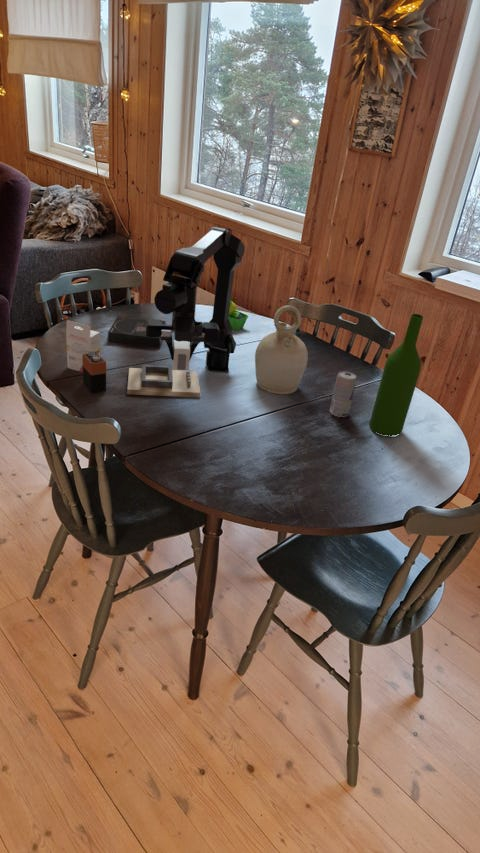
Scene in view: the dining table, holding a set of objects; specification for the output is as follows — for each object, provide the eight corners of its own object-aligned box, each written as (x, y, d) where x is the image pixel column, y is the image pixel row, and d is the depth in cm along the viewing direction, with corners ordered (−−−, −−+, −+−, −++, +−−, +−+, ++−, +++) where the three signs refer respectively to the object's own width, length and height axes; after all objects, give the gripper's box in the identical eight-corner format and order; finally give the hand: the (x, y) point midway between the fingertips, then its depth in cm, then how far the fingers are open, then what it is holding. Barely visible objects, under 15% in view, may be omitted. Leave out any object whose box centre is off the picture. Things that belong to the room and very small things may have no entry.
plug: (187, 360, 153) (188, 340, 150) (188, 371, 148) (190, 350, 145) (172, 360, 153) (173, 339, 150) (173, 371, 147) (174, 349, 144)
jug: (256, 371, 178) (267, 293, 166) (304, 380, 176) (319, 303, 164) (246, 391, 165) (258, 308, 152) (298, 401, 163) (314, 319, 151)
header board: (196, 375, 170) (197, 365, 168) (199, 397, 158) (201, 386, 156) (129, 372, 166) (129, 361, 165) (127, 394, 154) (127, 382, 153)
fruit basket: (248, 328, 210) (251, 299, 205) (231, 333, 204) (235, 303, 199) (226, 319, 217) (229, 290, 211) (209, 323, 211) (212, 293, 205)
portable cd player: (160, 349, 185) (160, 338, 183) (108, 343, 184) (108, 332, 182) (166, 332, 199) (167, 321, 197) (118, 326, 198) (118, 315, 196)
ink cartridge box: (101, 369, 166) (101, 322, 158) (91, 375, 162) (90, 327, 154) (77, 362, 168) (75, 315, 161) (66, 368, 164) (64, 319, 157)
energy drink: (349, 411, 161) (358, 373, 155) (346, 419, 157) (355, 381, 151) (331, 407, 162) (339, 369, 156) (327, 414, 158) (336, 376, 152)
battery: (91, 394, 152) (90, 360, 147) (82, 383, 157) (81, 350, 152) (106, 392, 154) (106, 358, 149) (97, 381, 159) (97, 348, 154)
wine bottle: (400, 424, 158) (434, 313, 142) (402, 440, 150) (437, 324, 134) (368, 418, 159) (398, 307, 143) (368, 433, 151) (399, 317, 135)
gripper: (147, 312, 133) (145, 371, 141) (224, 316, 137) (218, 374, 145) (146, 296, 143) (145, 353, 151) (219, 301, 146) (214, 356, 154)
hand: (180, 359), depth 150 cm, fingers closed on plug, 4 cm apart
